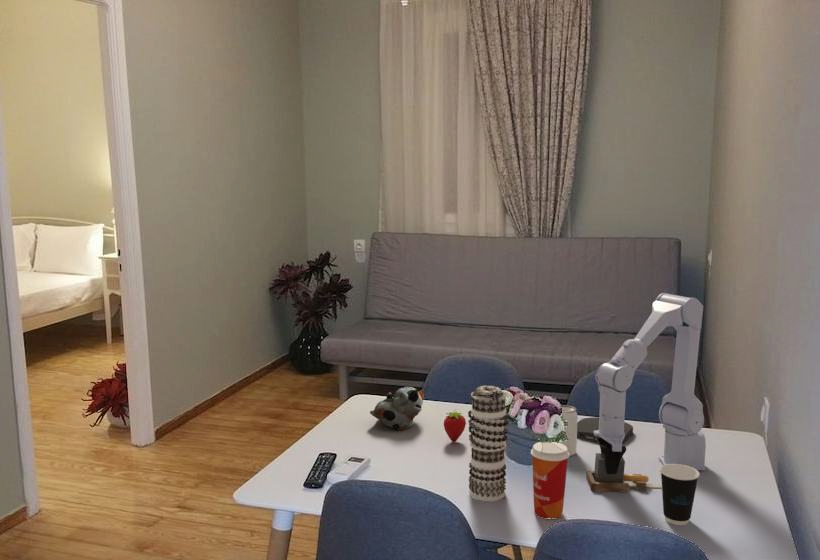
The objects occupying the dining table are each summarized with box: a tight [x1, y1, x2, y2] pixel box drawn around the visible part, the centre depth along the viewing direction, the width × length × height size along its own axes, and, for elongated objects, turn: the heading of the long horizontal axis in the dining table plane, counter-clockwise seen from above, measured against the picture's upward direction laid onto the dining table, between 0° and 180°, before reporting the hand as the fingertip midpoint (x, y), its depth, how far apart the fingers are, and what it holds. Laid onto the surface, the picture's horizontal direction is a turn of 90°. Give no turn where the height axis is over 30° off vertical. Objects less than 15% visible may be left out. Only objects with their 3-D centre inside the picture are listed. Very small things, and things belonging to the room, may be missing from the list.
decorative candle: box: [467, 385, 510, 502], centre depth 168 cm, size 9×9×25 cm
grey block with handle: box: [593, 452, 649, 483], centre depth 173 cm, size 12×4×6 cm, turn 86°
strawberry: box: [443, 410, 467, 443], centre depth 201 cm, size 6×8×10 cm
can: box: [559, 404, 578, 457], centre depth 194 cm, size 6×6×12 cm
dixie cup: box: [659, 464, 701, 526], centre depth 156 cm, size 8×8×11 cm
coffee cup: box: [530, 441, 571, 520], centre depth 158 cm, size 8×8×15 cm
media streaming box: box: [577, 416, 634, 445], centre depth 208 cm, size 15×15×3 cm
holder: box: [585, 470, 662, 493], centre depth 174 cm, size 17×8×2 cm, turn 86°
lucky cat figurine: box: [369, 386, 425, 431], centre depth 215 cm, size 15×12×14 cm
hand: (609, 469), depth 174 cm, fingers closed on grey block with handle, 4 cm apart
